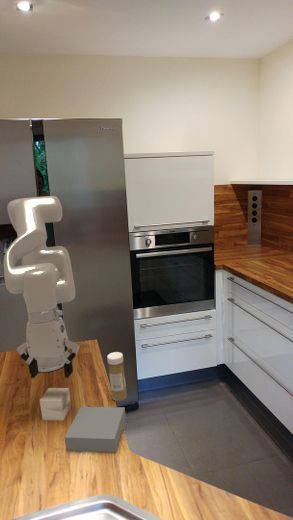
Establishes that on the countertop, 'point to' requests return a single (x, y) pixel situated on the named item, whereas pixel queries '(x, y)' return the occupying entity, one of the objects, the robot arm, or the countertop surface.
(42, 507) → the countertop surface
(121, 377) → the sprinkles bottle
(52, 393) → the cream cube
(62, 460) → the countertop surface
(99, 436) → the slate block
